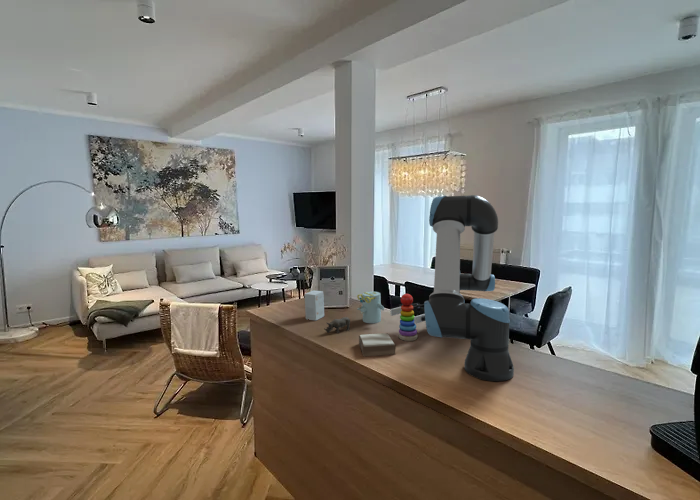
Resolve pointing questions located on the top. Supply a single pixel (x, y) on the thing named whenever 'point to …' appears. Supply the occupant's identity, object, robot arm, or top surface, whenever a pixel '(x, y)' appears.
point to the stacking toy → (407, 319)
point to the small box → (314, 305)
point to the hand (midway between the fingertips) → (402, 316)
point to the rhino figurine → (338, 324)
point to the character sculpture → (371, 307)
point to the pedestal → (376, 344)
